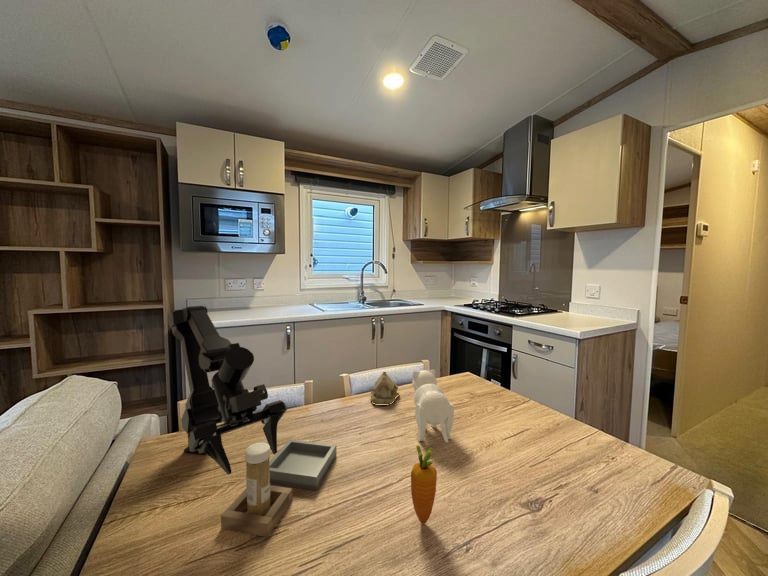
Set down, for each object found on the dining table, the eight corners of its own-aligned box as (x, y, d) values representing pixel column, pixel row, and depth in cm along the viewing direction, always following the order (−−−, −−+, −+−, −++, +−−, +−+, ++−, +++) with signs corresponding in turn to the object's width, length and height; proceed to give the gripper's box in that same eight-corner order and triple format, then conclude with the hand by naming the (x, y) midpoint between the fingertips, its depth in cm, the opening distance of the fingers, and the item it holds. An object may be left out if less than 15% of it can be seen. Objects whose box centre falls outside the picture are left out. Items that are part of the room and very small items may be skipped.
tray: (262, 482, 73) (262, 469, 73) (289, 450, 85) (289, 439, 85) (316, 490, 70) (316, 477, 70) (336, 456, 83) (336, 444, 83)
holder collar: (221, 528, 60) (220, 515, 60) (251, 493, 69) (251, 482, 69) (267, 537, 58) (267, 524, 58) (292, 499, 67) (292, 488, 67)
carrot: (408, 514, 64) (409, 441, 63) (432, 513, 64) (434, 440, 63) (412, 535, 59) (413, 456, 58) (439, 533, 59) (440, 454, 58)
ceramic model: (371, 390, 128) (371, 366, 127) (399, 391, 127) (400, 366, 126) (367, 406, 114) (367, 378, 113) (399, 407, 113) (399, 379, 112)
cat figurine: (467, 456, 84) (468, 393, 82) (428, 460, 81) (429, 396, 80) (433, 413, 108) (434, 364, 107) (403, 416, 106) (403, 366, 105)
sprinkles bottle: (273, 516, 63) (272, 449, 62) (248, 526, 60) (247, 457, 60) (267, 501, 67) (266, 439, 66) (244, 510, 64) (243, 445, 63)
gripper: (190, 386, 60) (212, 468, 53) (282, 365, 74) (309, 428, 67) (180, 414, 66) (199, 491, 59) (266, 389, 80) (290, 450, 73)
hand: (253, 463), depth 64 cm, fingers open, 9 cm apart
